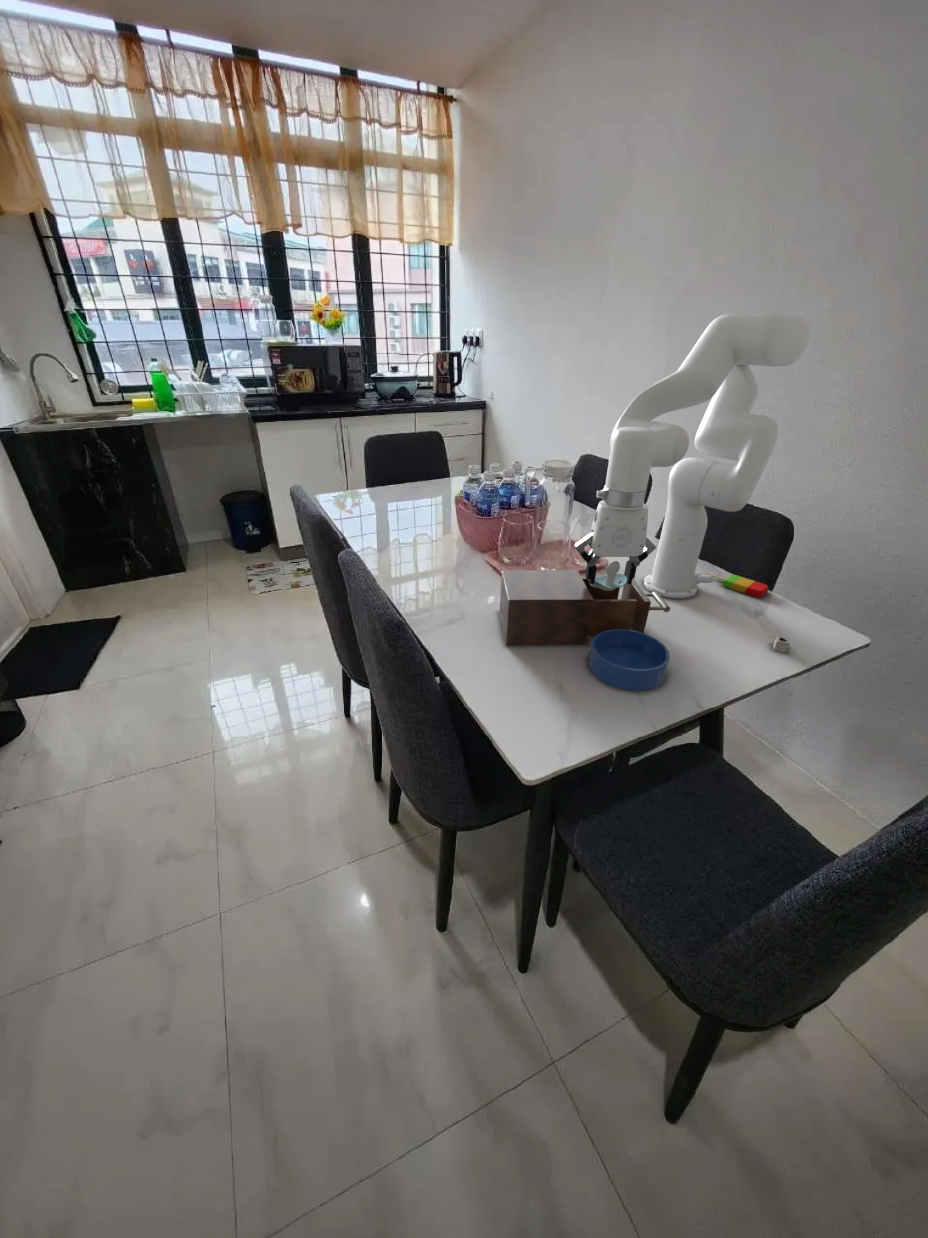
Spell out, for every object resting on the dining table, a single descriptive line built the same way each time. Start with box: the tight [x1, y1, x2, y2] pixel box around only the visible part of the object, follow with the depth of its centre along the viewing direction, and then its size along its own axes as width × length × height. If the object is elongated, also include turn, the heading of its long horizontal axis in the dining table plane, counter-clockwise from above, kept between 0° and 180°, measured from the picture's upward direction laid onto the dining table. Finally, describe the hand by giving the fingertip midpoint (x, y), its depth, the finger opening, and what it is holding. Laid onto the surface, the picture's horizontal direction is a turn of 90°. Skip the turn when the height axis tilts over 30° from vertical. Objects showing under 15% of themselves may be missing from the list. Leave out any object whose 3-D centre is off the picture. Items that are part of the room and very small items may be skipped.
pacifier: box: [590, 560, 627, 591], centre depth 103 cm, size 7×6×6 cm
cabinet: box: [499, 569, 593, 646], centre depth 106 cm, size 17×14×11 cm
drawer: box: [581, 576, 671, 637], centre depth 107 cm, size 21×12×9 cm, turn 92°
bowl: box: [588, 629, 671, 692], centre depth 95 cm, size 14×14×4 cm
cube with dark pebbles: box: [772, 635, 790, 654], centre depth 102 cm, size 2×2×2 cm
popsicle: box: [704, 571, 769, 598], centre depth 128 cm, size 6×15×2 cm, turn 43°
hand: (609, 580), depth 104 cm, fingers closed on pacifier, 7 cm apart
